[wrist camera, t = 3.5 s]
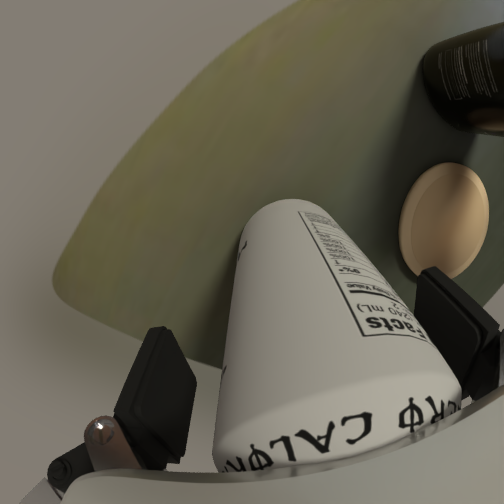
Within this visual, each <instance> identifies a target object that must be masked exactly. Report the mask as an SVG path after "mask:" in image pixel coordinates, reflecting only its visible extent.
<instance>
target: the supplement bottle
mask: <svg viewBox="0 0 504 504" xmlns="http://www.w3.org/2000/svg"><path fill="white" fill-rule="evenodd" d="M423 78H424V83H425V87H426V90H427V93H428V95H429V98H430V100H431V102H432V104H433V105H434V107H435V109H436V110H437V112H438V113H439V114H440V116H441V117H442V118H443V119H444V120H445V121H446V122H447V123H448V124H449V125H451V126H452V127H454V128H455V129H457V130H460V131H462V132H467V133H475V134H484V135H493V136H500V137H504V22H501V23H497V24H494V25H490V26H486V27H483V28H480V29H476V30H473V31H470V32H467V33H464V34H461V35H458V36H455V37H452V38H449V39H447V40H444V41H441V42H439V43H437V44H435V45H433V46H432V47H431V48H430V49H429V50H428V51H427V53H426V55H425V58H424V62H423Z"/></svg>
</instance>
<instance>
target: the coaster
mask: <svg viewBox="0 0 504 504" xmlns="http://www.w3.org/2000/svg"><path fill="white" fill-rule="evenodd" d="M488 220H489V204H488V198H487V194H486V191H485V188H484V186H483V184H482V182H481V180H480V179H479V177H478V176H477V175H476V174H475V173H474V172H473V171H472V170H471V169H469V168H468V167H466V166H464V165H461V164H457V163H452V162H445V163H440V164H437V165H435V166H433V167H431V168H429V169H428V170H426V171H425V172H424V173H423V174H422V175H421V176H420V177H419V178H418V179H417V180H416V181H415V183H414V184H413V186H412V187H411V189H410V191H409V192H408V194H407V197H406V199H405V201H404V204H403V207H402V210H401V214H400V219H399V229H398V237H399V245H400V250H401V253H402V256H403V259H404V261H405V263H406V264H407V265H408V267H409V268H410V269H411V270H412V271H413V272H414V273H415V274H416V275H417V276H418V275H420V273H421V271H422V270H423V269H427V268H430V267H433V266H436V267H437V268H438V269H440V270H441V271H442V272H443V273H444V274H446V275H447V276H448V277H449V278H450V279H452V278H454V277H455V276H457V275H459V274H460V273H461V272H463V271H464V270H465V269H466V268H467V267H468V266H469V265H470V264H471V262H472V261H473V260H474V258H475V257H476V255H477V254H478V252H479V250H480V248H481V246H482V244H483V241H484V239H485V235H486V232H487V227H488Z"/></svg>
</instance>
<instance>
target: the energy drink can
mask: <svg viewBox="0 0 504 504" xmlns="http://www.w3.org/2000/svg"><path fill="white" fill-rule="evenodd" d="M461 398H462V391H461V387H460V384H459V382H458V380H457V378H456V377H455V375H454V373H453V372H452V370H451V369H450V367H449V366H448V364H447V363H446V361H445V360H444V358H443V357H442V355H441V354H440V352H439V351H438V349H437V348H436V346H435V345H434V343H433V342H432V341H431V339H430V338H429V336H428V335H427V333H426V332H425V331H424V329H423V328H422V327H421V325H420V324H419V322H418V321H417V320H416V318H415V317H414V316H413V314H412V313H411V312H410V310H409V309H408V308H407V306H406V305H405V304H404V302H403V301H402V300H401V299H400V297H399V296H398V295H397V293H396V292H395V291H394V290H393V288H392V287H391V286H390V285H389V283H388V282H387V281H386V280H385V278H384V277H383V276H382V275H381V274H380V272H379V271H378V270H377V269H376V268H375V266H374V265H373V264H372V263H371V262H370V260H369V259H368V258H367V257H366V256H365V255H364V253H363V252H362V251H361V250H360V249H359V248H358V246H357V245H356V244H355V243H354V242H353V241H352V240H351V238H350V237H349V236H348V235H347V234H346V233H345V232H344V231H343V230H342V228H341V227H340V226H339V225H338V224H337V223H336V222H335V221H334V220H333V219H332V218H331V216H330V215H329V214H328V213H327V212H326V211H324V210H323V209H322V208H320V207H319V206H317V205H315V204H313V203H311V202H308V201H304V200H300V199H286V200H279V201H276V202H273V203H271V204H268V205H266V206H265V207H263V208H262V209H260V210H259V211H258V212H256V213H255V214H254V215H253V216H252V217H251V218H250V220H249V221H248V223H247V224H246V225H245V228H244V230H243V232H242V234H241V239H240V244H239V251H238V258H237V265H236V272H235V279H234V286H233V293H232V300H231V307H230V315H229V322H228V330H227V337H226V345H225V352H224V360H223V368H222V375H221V383H220V391H219V400H218V408H217V416H216V424H215V433H214V441H213V450H212V456H213V460H214V463H215V466H216V468H217V469H218V472H219V473H226V472H246V471H259V470H269V469H277V468H284V467H291V466H297V465H304V464H315V463H323V462H329V461H334V460H339V459H344V458H348V457H353V456H356V455H360V454H363V453H366V452H369V451H372V450H375V449H378V448H381V447H384V446H386V445H389V444H391V443H393V442H396V441H398V440H400V439H402V438H404V437H406V436H409V435H411V434H413V433H414V432H416V431H418V430H420V429H422V428H425V427H427V426H429V425H431V424H433V423H436V422H438V421H440V420H442V419H444V418H446V417H448V416H450V415H452V414H453V413H455V412H457V411H459V410H461Z"/></svg>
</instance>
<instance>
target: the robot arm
mask: <svg viewBox="0 0 504 504" xmlns="http://www.w3.org/2000/svg"><path fill="white" fill-rule="evenodd" d="M414 317H415V318H416V320H417V321H418V322H419V324H420V325H421V327H422V328H423V329H424V331H425V332H426V333H427V335H428V336H429V338H430V339H431V341H432V342H433V343H434V345H435V346H436V348H437V349H438V351H439V352H440V354H441V355H442V357H443V358H444V360H445V361H446V363H447V364H448V366H449V367H450V369H451V370H452V372H453V373H454V375H455V377H456V378H457V380H458V382H459V384H460V387H461V391H462V398H461V400H463V399H465V398H467V397H469V395H470V397H471V398H472V403H471V404H470V405H468V406H466V407H465V408H463V409H461V410H459V411H457V412H455V413H453V414H452V415H450V416H448V417H446V418H444V419H442V420H440V421H438V422H436V423H433V424H431V425H429V426H427V427H425V428H422V429H420V430H418V431H416V432H414V433H413V434H411V435H409V436H406V437H404V438H402V439H400V440H398V441H396V442H393V443H391V444H389V445H386V446H384V447H381V448H378V449H375V450H372V451H369V452H366V453H363V454H360V455H356V456H353V457H348V458H344V459H339V460H334V461H329V462H323V463H315V464H304V465H297V466H291V467H284V468H277V469H269V470H259V471H246V472H226V473H190V472H188V473H187V472H169V471H167V470H166V466H167V463H175V464H179V463H180V458H181V457H183V456H184V454H185V450H186V444H187V438H188V432H189V426H190V420H191V414H192V408H193V403H194V397H195V392H196V387H197V382H196V377H195V375H194V374H193V372H192V370H191V368H190V366H189V364H188V362H187V360H186V359H185V357H184V355H183V353H182V351H181V349H180V347H179V345H178V343H177V341H176V339H175V337H174V335H173V333H172V331H171V330H169V329H168V330H167V328H166V327H164V326H162V327H154V328H150V329H149V330H148V332H147V335H146V337H145V339H144V341H143V343H142V346H141V348H140V350H139V352H138V354H137V357H136V359H135V361H134V363H133V366H132V368H131V370H130V372H129V375H128V377H127V379H126V382H125V384H124V386H123V389H122V391H121V394H120V396H119V399H118V401H117V403H116V406H115V408H114V412H115V413H114V416H113V417H111V416H100V417H98V418H95V419H94V420H92V421H91V422H90V423H89V424H88V425H87V427H86V429H85V431H84V441H85V442H84V443H82V444H81V445H79V446H77V447H76V448H74V449H72V450H70V451H69V452H67V453H65V454H63V455H62V456H60V457H58V458H56V459H55V460H54V461H52V463H51V464H50V465H49V468H48V473H47V476H48V480H47V479H46V478H43V479H42V480H41V481H40V482H39V483H38V484H37V485H36V486H35V487H34V488H33V489H32V490H31V491H30V492H29V493H28V494H27V495H26V496H25V497H24V498H23V499H22V500H21V502H20V504H504V329H503V330H502V332H500V331H499V330H498V329H499V326H500V325H499V324H498V323H497V322H496V321H495V320H494V319H493V318H492V317H491V316H490V315H489V314H488V313H487V312H486V311H485V310H484V309H483V308H482V307H481V306H480V305H479V304H478V303H477V302H476V301H475V300H474V299H473V298H471V297H470V296H469V295H468V294H467V293H466V292H465V291H464V290H463V289H462V288H460V287H459V286H458V285H457V284H456V283H455V282H454V281H453V280H451V279H450V278H449V277H448V276H447V275H446V274H444V273H443V272H442V271H441V270H440V269H438V268H437V267H436V266H433V267H430V268H427V269H423V270H422V271H421V273H420V275H418V278H417V290H416V300H415V309H414Z"/></svg>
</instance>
